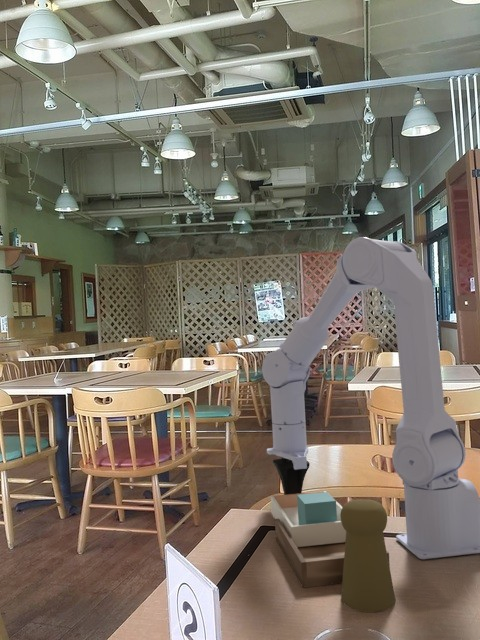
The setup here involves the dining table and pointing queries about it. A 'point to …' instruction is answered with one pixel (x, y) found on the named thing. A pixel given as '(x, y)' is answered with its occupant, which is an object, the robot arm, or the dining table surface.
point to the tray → (308, 533)
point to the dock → (313, 559)
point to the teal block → (316, 508)
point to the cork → (366, 557)
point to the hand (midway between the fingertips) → (293, 501)
